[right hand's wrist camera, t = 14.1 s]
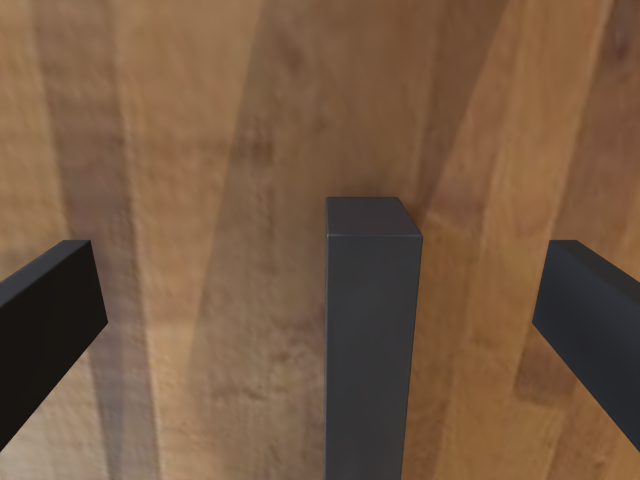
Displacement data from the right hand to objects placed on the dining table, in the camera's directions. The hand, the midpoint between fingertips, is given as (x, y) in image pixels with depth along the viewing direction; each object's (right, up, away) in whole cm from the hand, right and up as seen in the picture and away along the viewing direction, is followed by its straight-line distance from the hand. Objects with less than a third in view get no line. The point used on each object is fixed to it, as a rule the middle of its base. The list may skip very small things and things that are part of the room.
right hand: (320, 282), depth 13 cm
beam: (+3, -13, +23) cm, 27 cm away
